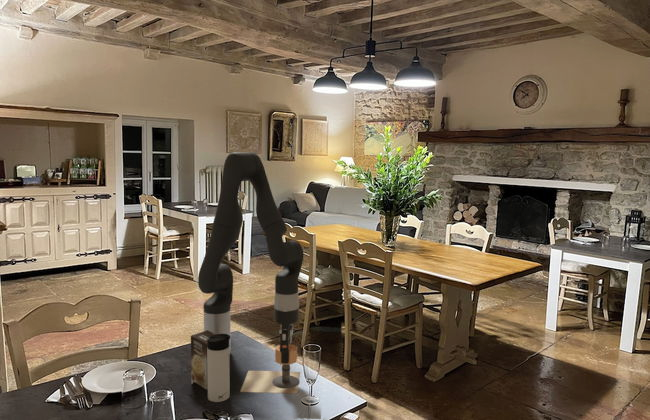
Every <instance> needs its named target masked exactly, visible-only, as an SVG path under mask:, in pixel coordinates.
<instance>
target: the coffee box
mask: <svg viewBox="0 0 650 420" xmlns="http://www.w3.org/2000/svg"><path fill="white" fill-rule="evenodd" d="M213 335H216V334H214V333H212V332H210V331H208V330H207V331H204V330H203V331H201V332H198V333H195V334H192V335H190V371H191V373H190V378H191V379H190V381H191V383H190V384H191V385H193V384H194V383H195V384H197V385H199V386H200V387H201V388H203V389H204V390H207V391H208V372H207V345H208V344H207V340H208V338H210V337H211V336H213Z"/></svg>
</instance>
